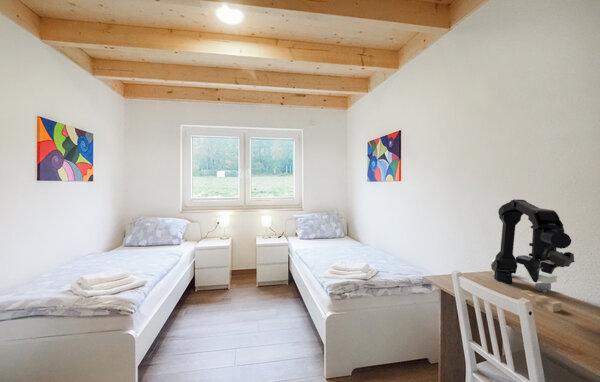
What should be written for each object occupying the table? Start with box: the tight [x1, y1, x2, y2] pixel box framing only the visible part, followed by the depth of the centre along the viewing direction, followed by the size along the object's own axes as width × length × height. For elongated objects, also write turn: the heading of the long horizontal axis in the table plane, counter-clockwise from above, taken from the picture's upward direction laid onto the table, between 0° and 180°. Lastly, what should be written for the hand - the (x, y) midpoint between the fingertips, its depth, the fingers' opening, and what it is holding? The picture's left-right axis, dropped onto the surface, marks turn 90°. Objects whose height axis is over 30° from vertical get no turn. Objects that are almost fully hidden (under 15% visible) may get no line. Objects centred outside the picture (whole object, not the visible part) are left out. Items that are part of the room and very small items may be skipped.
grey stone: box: [534, 282, 552, 293], centre depth 116 cm, size 7×3×5 cm, turn 102°
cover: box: [525, 270, 558, 284], centre depth 98 cm, size 7×5×2 cm
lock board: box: [519, 289, 562, 313], centre depth 107 cm, size 17×13×4 cm
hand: (540, 281), depth 98 cm, fingers closed on cover, 5 cm apart
